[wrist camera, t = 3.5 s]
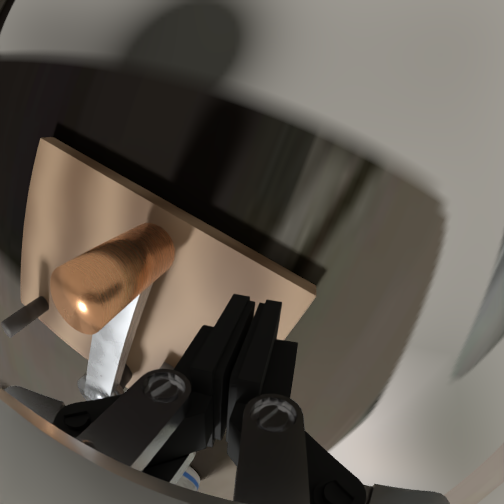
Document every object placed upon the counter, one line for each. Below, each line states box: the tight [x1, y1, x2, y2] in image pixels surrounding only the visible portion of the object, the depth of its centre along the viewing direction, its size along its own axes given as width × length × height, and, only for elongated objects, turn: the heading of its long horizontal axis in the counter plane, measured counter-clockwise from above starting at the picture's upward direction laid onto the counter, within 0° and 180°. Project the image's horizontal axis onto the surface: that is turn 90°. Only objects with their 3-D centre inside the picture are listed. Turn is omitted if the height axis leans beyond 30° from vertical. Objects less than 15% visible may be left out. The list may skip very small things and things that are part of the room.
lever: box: [50, 223, 175, 401], centre depth 16 cm, size 18×4×7 cm, turn 152°
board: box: [2, 137, 316, 389], centre depth 19 cm, size 24×18×7 cm
